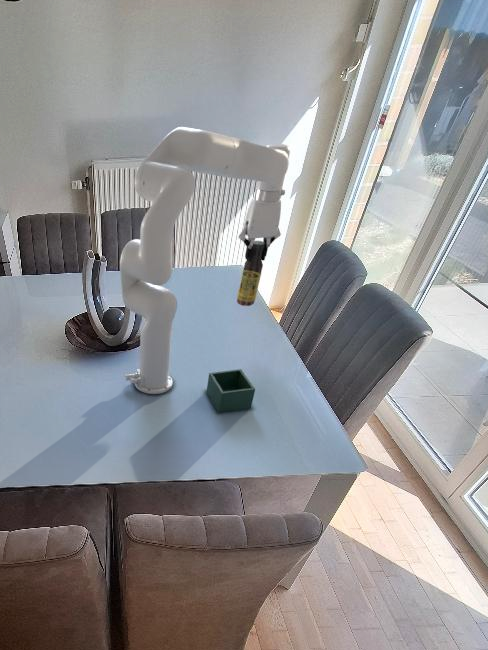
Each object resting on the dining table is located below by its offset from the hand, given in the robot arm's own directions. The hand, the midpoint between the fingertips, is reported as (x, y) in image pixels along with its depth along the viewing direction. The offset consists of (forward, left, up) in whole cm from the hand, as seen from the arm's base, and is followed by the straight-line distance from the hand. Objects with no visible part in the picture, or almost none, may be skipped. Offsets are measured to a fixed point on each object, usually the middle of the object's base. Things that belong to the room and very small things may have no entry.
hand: (254, 259), depth 152 cm
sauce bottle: (0, 0, -15) cm, 15 cm away
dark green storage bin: (-18, -36, -28) cm, 50 cm away
